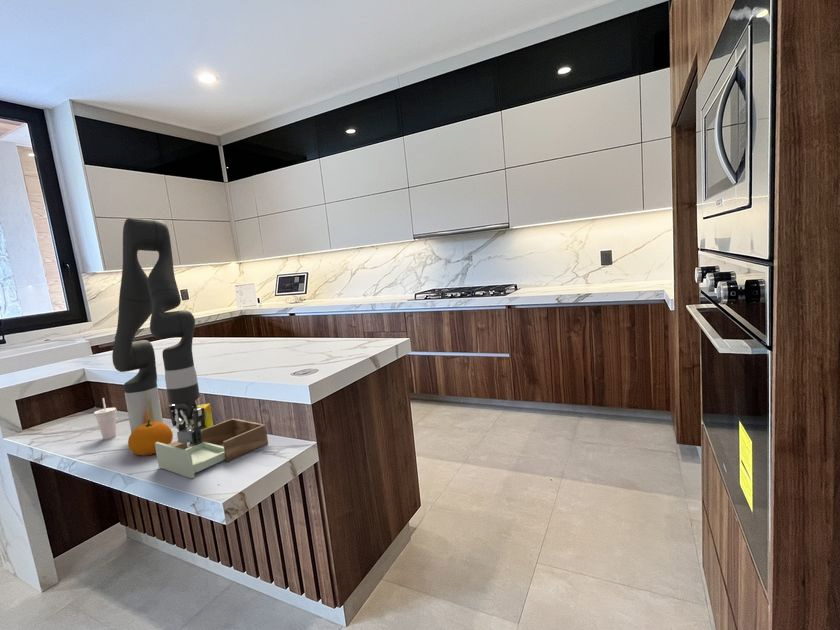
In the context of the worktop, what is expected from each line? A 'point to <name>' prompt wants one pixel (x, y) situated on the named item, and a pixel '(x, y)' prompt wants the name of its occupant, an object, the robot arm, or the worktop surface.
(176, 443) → the brown wooden cube
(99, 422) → the smoothie
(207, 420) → the supplement box
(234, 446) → the cubby
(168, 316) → the robot arm
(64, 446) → the worktop surface
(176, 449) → the tray
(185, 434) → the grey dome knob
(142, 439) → the fruit
